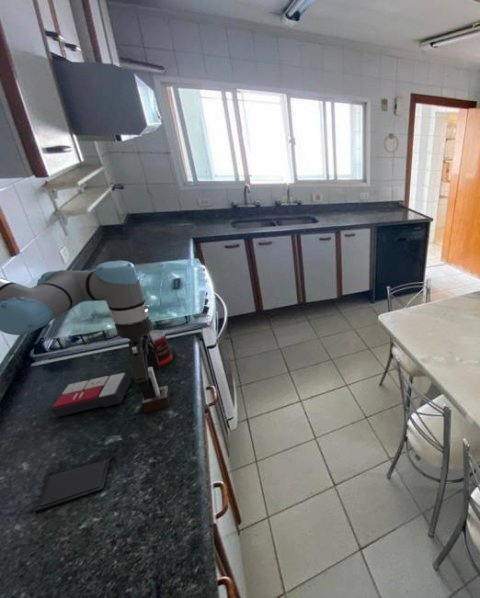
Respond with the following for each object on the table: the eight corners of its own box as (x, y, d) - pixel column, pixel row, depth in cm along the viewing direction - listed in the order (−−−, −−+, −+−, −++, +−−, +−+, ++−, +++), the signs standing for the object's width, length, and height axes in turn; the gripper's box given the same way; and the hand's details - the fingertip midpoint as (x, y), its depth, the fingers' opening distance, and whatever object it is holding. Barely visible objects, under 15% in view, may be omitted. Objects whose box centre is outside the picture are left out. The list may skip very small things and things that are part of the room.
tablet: (35, 513, 69) (34, 510, 69) (50, 478, 76) (48, 475, 76) (103, 491, 74) (102, 488, 74) (111, 460, 81) (109, 457, 81)
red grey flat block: (66, 383, 99) (126, 370, 104) (73, 394, 101) (131, 380, 106) (48, 408, 90) (114, 392, 95) (56, 419, 92) (120, 403, 97)
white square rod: (153, 407, 98) (142, 372, 92) (154, 403, 99) (143, 368, 94) (162, 405, 99) (151, 370, 93) (162, 401, 100) (152, 366, 95)
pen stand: (144, 414, 95) (141, 403, 93) (147, 401, 100) (143, 390, 98) (169, 407, 98) (166, 397, 96) (170, 395, 103) (167, 385, 101)
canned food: (148, 358, 118) (138, 332, 113) (174, 353, 122) (165, 327, 117) (144, 370, 112) (133, 344, 107) (172, 364, 116) (162, 338, 111)
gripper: (144, 339, 79) (165, 406, 88) (153, 298, 98) (170, 357, 107) (104, 346, 75) (130, 415, 84) (122, 302, 95) (141, 363, 103)
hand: (152, 383), depth 96 cm, fingers open, 13 cm apart
